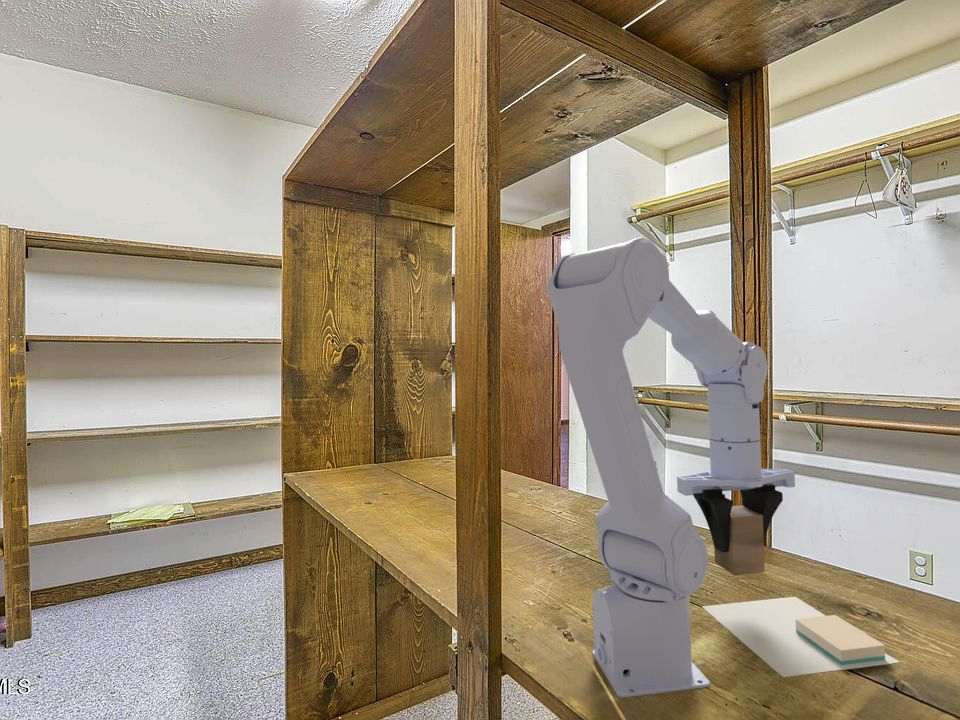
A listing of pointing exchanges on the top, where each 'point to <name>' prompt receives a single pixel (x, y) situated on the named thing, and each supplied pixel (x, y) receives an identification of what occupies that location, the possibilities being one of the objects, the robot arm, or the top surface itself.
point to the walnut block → (743, 543)
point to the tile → (840, 639)
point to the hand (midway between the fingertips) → (738, 547)
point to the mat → (780, 635)
